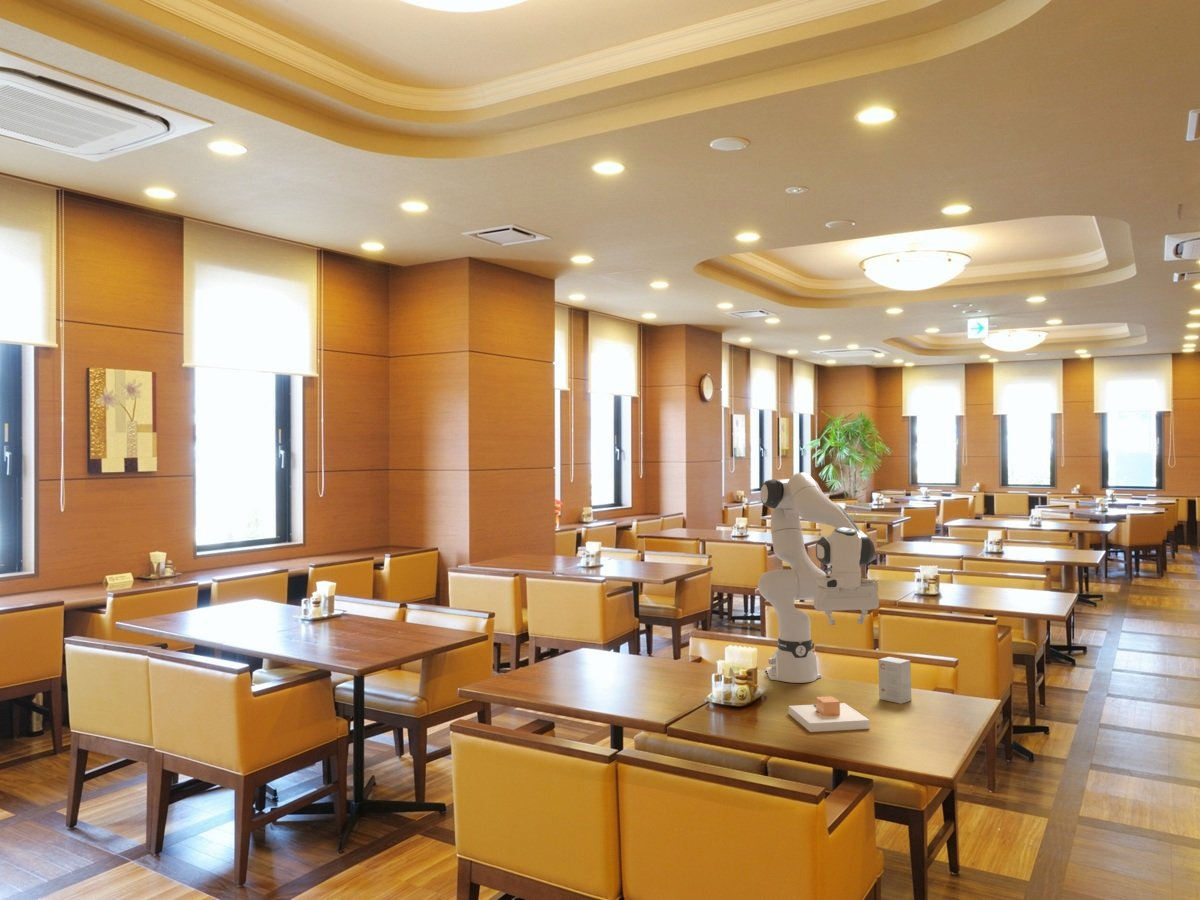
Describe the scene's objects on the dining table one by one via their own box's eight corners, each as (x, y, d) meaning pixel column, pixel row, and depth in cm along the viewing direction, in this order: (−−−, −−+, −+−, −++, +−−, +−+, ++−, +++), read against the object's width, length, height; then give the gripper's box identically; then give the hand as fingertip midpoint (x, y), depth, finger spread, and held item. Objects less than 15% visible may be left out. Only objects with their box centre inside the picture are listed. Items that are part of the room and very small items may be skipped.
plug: (816, 717, 261) (816, 697, 261) (832, 717, 262) (831, 696, 262) (823, 723, 255) (823, 702, 255) (840, 723, 256) (839, 701, 256)
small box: (911, 700, 279) (911, 660, 279) (901, 704, 275) (900, 663, 275) (889, 695, 285) (888, 656, 286) (878, 699, 281) (877, 659, 281)
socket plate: (788, 714, 266) (788, 703, 266) (844, 711, 269) (844, 701, 269) (810, 732, 249) (809, 721, 249) (869, 728, 251) (869, 717, 251)
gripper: (873, 577, 275) (873, 620, 275) (811, 579, 272) (811, 623, 273) (882, 580, 268) (882, 624, 269) (818, 582, 266) (819, 627, 266)
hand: (846, 624), depth 271 cm, fingers open, 8 cm apart
